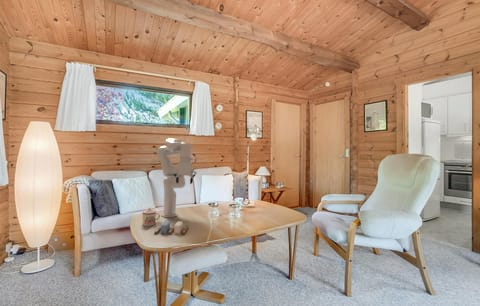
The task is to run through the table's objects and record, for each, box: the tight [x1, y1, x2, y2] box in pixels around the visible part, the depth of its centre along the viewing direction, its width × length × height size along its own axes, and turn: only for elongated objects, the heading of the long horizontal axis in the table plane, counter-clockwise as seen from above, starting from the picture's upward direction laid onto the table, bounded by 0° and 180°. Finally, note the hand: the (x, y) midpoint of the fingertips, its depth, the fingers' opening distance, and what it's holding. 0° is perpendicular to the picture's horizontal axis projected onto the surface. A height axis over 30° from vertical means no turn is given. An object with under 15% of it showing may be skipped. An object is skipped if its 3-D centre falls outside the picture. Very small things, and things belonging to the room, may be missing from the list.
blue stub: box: [160, 220, 171, 233], centre depth 154 cm, size 9×4×5 cm, turn 2°
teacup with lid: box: [142, 207, 161, 227], centre depth 171 cm, size 12×9×12 cm
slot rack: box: [153, 224, 189, 236], centre depth 155 cm, size 14×19×2 cm
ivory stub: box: [173, 220, 184, 234], centre depth 155 cm, size 9×4×5 cm, turn 2°
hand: (184, 183), depth 172 cm, fingers open, 9 cm apart
